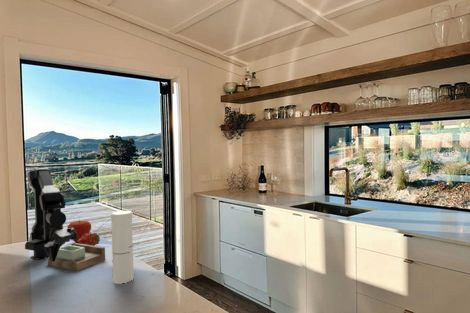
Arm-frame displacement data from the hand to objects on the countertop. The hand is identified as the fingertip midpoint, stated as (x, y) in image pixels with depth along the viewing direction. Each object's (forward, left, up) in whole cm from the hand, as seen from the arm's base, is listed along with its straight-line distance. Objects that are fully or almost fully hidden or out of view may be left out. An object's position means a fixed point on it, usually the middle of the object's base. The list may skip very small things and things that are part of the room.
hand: (53, 261), depth 128 cm
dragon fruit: (-12, +27, -4) cm, 30 cm away
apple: (-25, +33, -4) cm, 42 cm away
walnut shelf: (0, +11, -4) cm, 12 cm away
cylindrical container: (+33, +4, -4) cm, 33 cm away
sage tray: (0, +8, -1) cm, 8 cm away
